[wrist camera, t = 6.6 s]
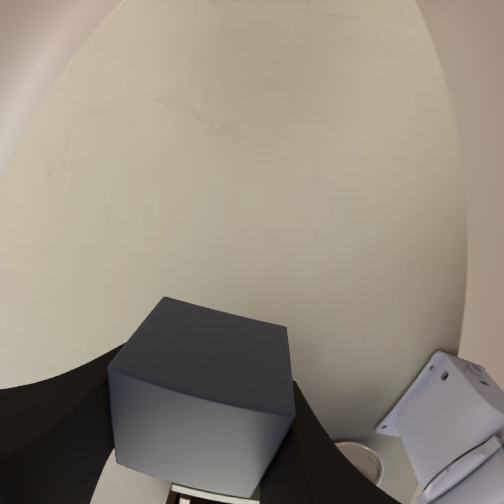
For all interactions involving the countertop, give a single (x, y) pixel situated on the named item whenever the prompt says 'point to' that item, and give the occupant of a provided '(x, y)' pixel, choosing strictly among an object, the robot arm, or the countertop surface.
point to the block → (201, 397)
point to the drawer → (211, 496)
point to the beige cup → (363, 460)
